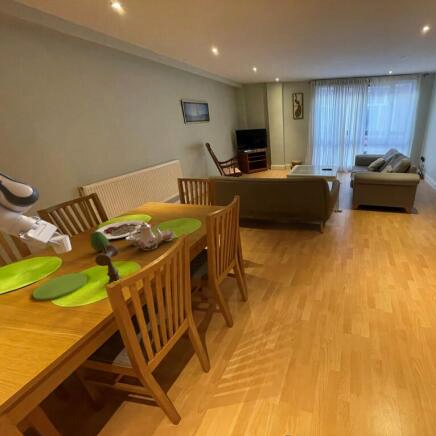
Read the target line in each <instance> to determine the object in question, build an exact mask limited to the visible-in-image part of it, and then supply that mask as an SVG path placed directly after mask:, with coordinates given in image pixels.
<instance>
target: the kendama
mask: <svg viewBox="0 0 436 436" xmlns="http://www.w3.org/2000/svg"><path fill="white" fill-rule="evenodd" d="M102 246H103V251H102V254H98V255H97V256H96V257H95V263H96V264H97V265H98V266H100V267H106V266H107V273H106V276H107V277H109V279H108V283H109V284H111V282H113V281H117V280H119V279H121V278H122V279H123V277H122V276H121V275H120V273H119V269H117V268H116V267H115V265H114V264H113V262H112V257H116V256H117V255H118V254H119V249H118V247H117V246H115V245H113V244H109V245H107V246H105V245H104V243H102ZM122 279H121V280H122Z"/></svg>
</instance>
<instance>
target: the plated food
mask: <svg viewBox="0 0 436 436" xmlns="http://www.w3.org/2000/svg"><path fill="white" fill-rule="evenodd" d="M143 222H145V223H147V222H146V221H144V220H139V219H132V220H131V219H129V220H124V221H117V222H113V223H110V224H107V225H105V226H101V227H100V228H98V229H97V230H95V231H94V232H96V231H98V232H101V233H102V234H103V235H104V236H106V238H107V239H108V240H116V239H120V238H126V237H128V236H129V235H130V231H131V230H133V229H136V230H133V231H132V232H131V234H137V233H141V232H140V231H138V232H137V230H138V229H139V228H138V227H139V226H140V225H142V223H143Z"/></svg>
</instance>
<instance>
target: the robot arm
mask: <svg viewBox="0 0 436 436" xmlns="http://www.w3.org/2000/svg"><path fill="white" fill-rule="evenodd" d="M0 194H1V195H0V231H3V233H6V234H8V235H10V236H14V237H17V238H18V239H19V240H20V241H21V242H22V243H25V244H26V245H29V246H31V247H33V248H36V249H43V248H44V247H45V246H48V247H52V246H55V247H60V245H61V243H59V242H53V241H52V240H49V239H50V238H52V237H55V236H59V235H62V234H60V232H58V231H57V230H58V227H57V226H56V225H55V224H52V223H50V222H48V221H46V220H44V219H41V218H40V217H39V216H35V215H33V216H26V215H23V214H25V213H27V212H28V211H30V209H31V208H32V207H33V206H34V204H35V203H36V202H37V201H39V199H40V192H39V190H38V189H37V188H36V187H35V186H34V185H32V184H30V183H27V182H24V181H21V180H18V179H16V178H14V177H12V176H9V175H7V174H5V173H4V172H3V171H0Z"/></svg>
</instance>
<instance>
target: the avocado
mask: <svg viewBox="0 0 436 436" xmlns="http://www.w3.org/2000/svg"><path fill="white" fill-rule="evenodd" d="M95 231H96V232H95ZM95 231H93V232H92V233H91V235H90V246H91V247H92V249H93V250H95V251H97V252H103V246H102V243H104V245H105V246H107V245H110V240H109V239H107V238H106V236H104V235H103V234H102V233H101V232H98V231H97V230H95Z"/></svg>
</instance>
